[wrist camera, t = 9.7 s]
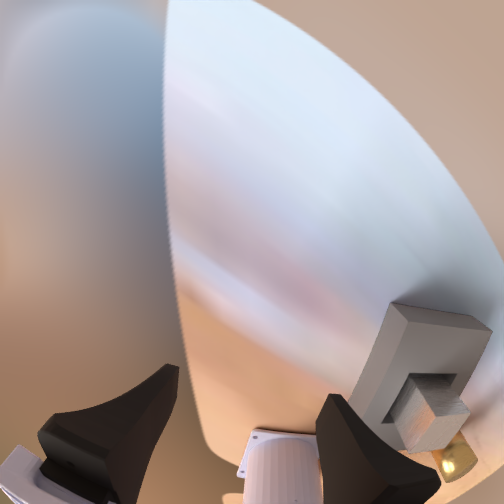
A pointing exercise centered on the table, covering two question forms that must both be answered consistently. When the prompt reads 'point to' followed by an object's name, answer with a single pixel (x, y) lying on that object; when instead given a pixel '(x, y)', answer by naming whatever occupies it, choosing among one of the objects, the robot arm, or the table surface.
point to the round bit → (455, 458)
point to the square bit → (427, 412)
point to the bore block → (415, 360)
